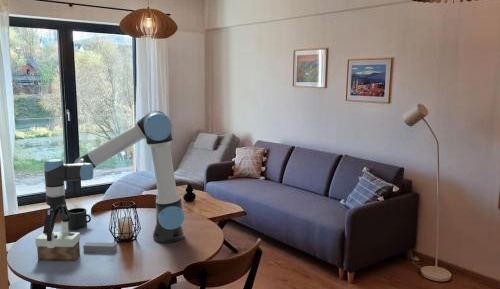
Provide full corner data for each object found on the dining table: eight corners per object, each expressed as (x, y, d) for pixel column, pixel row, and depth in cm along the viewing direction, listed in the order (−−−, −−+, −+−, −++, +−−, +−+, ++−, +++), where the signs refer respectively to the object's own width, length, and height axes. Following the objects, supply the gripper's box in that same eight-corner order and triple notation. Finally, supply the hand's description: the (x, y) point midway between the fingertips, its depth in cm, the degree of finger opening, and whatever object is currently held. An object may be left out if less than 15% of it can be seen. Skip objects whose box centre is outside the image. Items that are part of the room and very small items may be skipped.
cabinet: (80, 255, 191) (78, 233, 190) (74, 261, 186) (73, 238, 184) (44, 254, 192) (43, 232, 190) (38, 260, 186) (36, 237, 184)
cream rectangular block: (80, 239, 191) (79, 230, 191) (72, 247, 183) (72, 237, 183) (45, 239, 192) (44, 229, 191) (35, 246, 184) (35, 236, 183)
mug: (87, 230, 223) (87, 213, 221) (65, 229, 223) (64, 213, 221) (94, 224, 232) (93, 208, 230) (72, 223, 232) (71, 207, 230)
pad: (116, 249, 199) (116, 243, 199) (113, 252, 195) (113, 246, 195) (87, 248, 199) (86, 242, 199) (83, 251, 195) (83, 245, 195)
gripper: (60, 187, 196) (62, 231, 200) (31, 203, 172) (35, 252, 175) (76, 187, 196) (78, 231, 200) (50, 203, 172) (53, 253, 175)
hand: (58, 241), depth 187 cm, fingers open, 13 cm apart
